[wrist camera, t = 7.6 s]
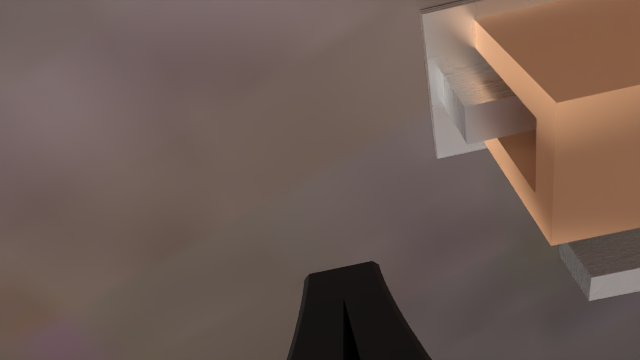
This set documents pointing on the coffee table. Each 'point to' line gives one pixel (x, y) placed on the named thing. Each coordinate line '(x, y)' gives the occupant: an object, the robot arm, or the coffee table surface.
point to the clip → (571, 112)
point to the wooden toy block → (605, 263)
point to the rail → (468, 79)
